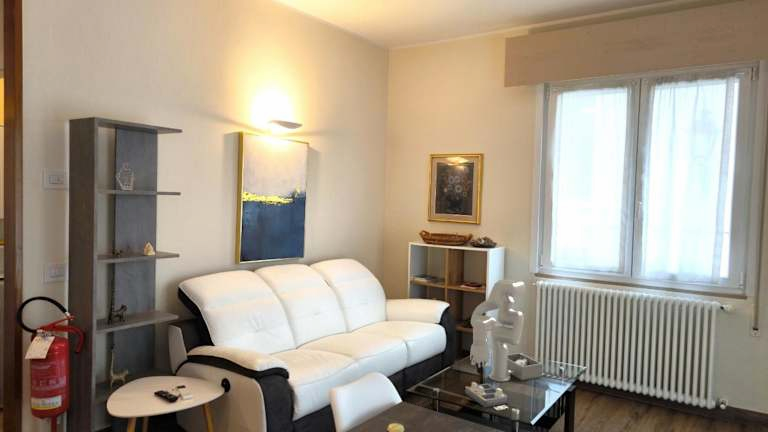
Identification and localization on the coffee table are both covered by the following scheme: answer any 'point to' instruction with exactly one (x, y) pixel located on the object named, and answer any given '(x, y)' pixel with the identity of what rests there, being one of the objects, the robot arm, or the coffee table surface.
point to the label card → (500, 407)
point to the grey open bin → (524, 367)
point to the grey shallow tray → (487, 396)
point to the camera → (522, 361)
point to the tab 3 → (498, 393)
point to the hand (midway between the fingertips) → (479, 373)
